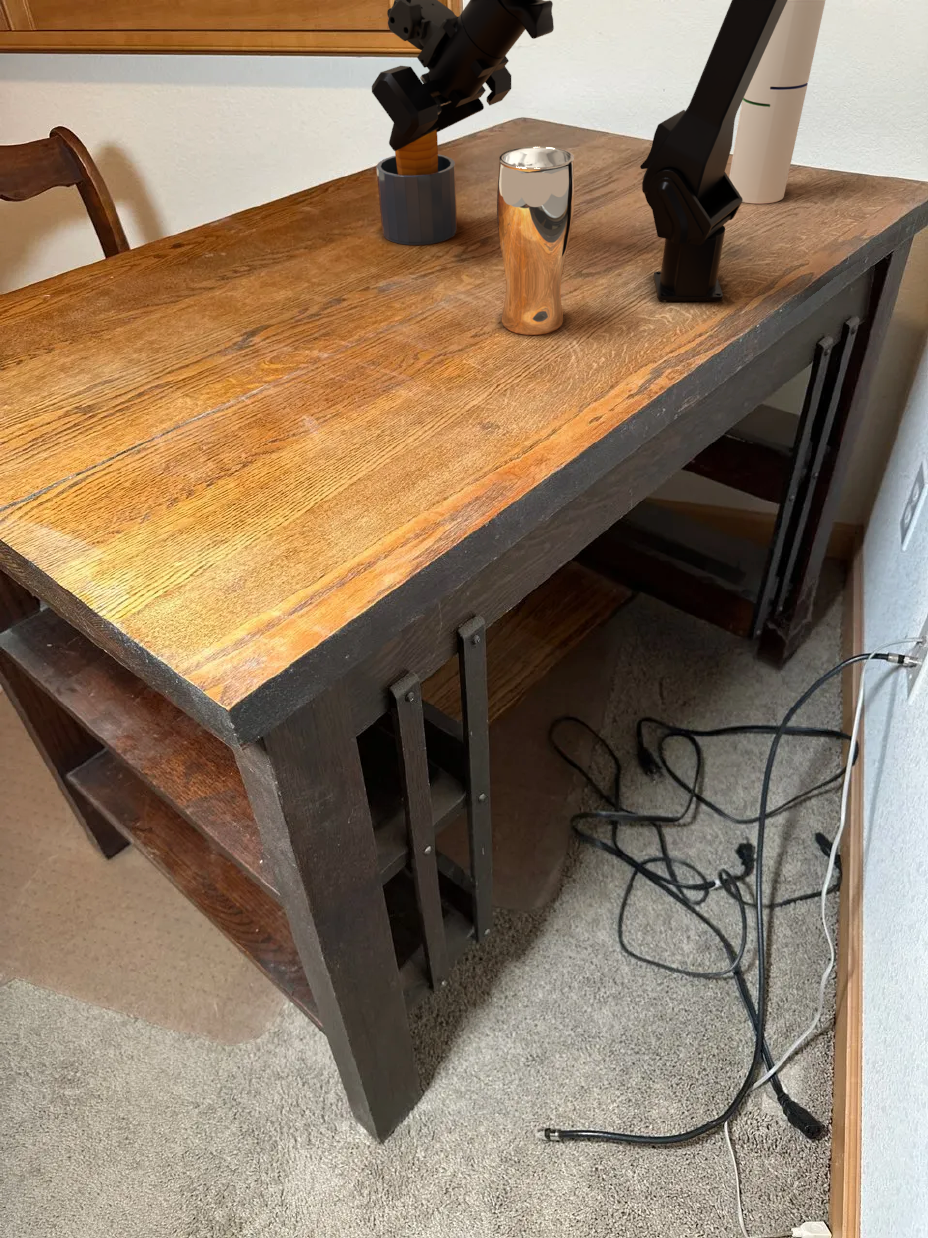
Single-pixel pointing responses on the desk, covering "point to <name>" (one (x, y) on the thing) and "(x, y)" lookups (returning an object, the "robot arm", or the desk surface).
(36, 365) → the desk surface
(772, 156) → the cylindrical container
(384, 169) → the cup
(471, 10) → the robot arm
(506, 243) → the beer glass
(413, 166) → the carrot
